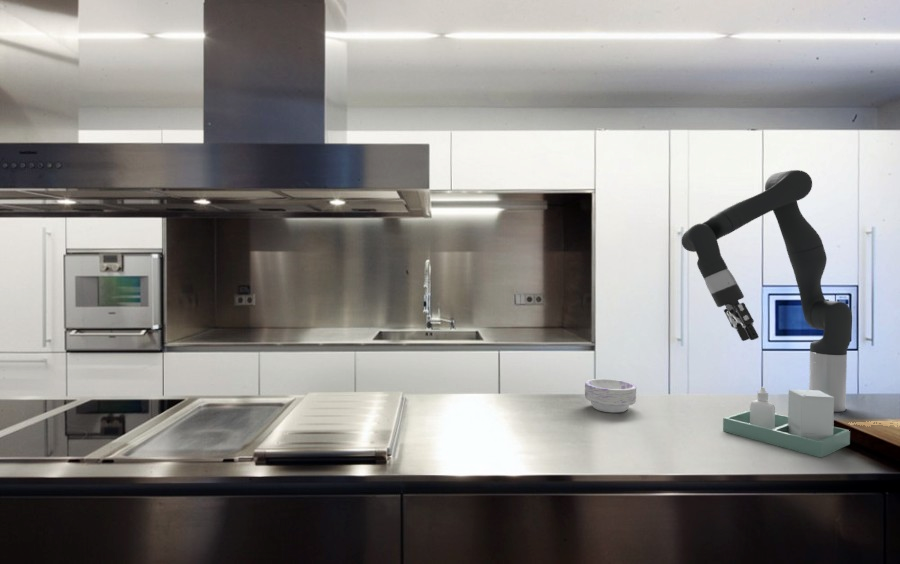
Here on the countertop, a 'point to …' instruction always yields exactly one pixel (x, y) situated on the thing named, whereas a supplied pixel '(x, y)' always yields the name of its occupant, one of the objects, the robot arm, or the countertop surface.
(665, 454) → the countertop surface
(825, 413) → the supplement box
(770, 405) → the eye dropper bottle
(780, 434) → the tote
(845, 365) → the robot arm
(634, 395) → the paper bowls
